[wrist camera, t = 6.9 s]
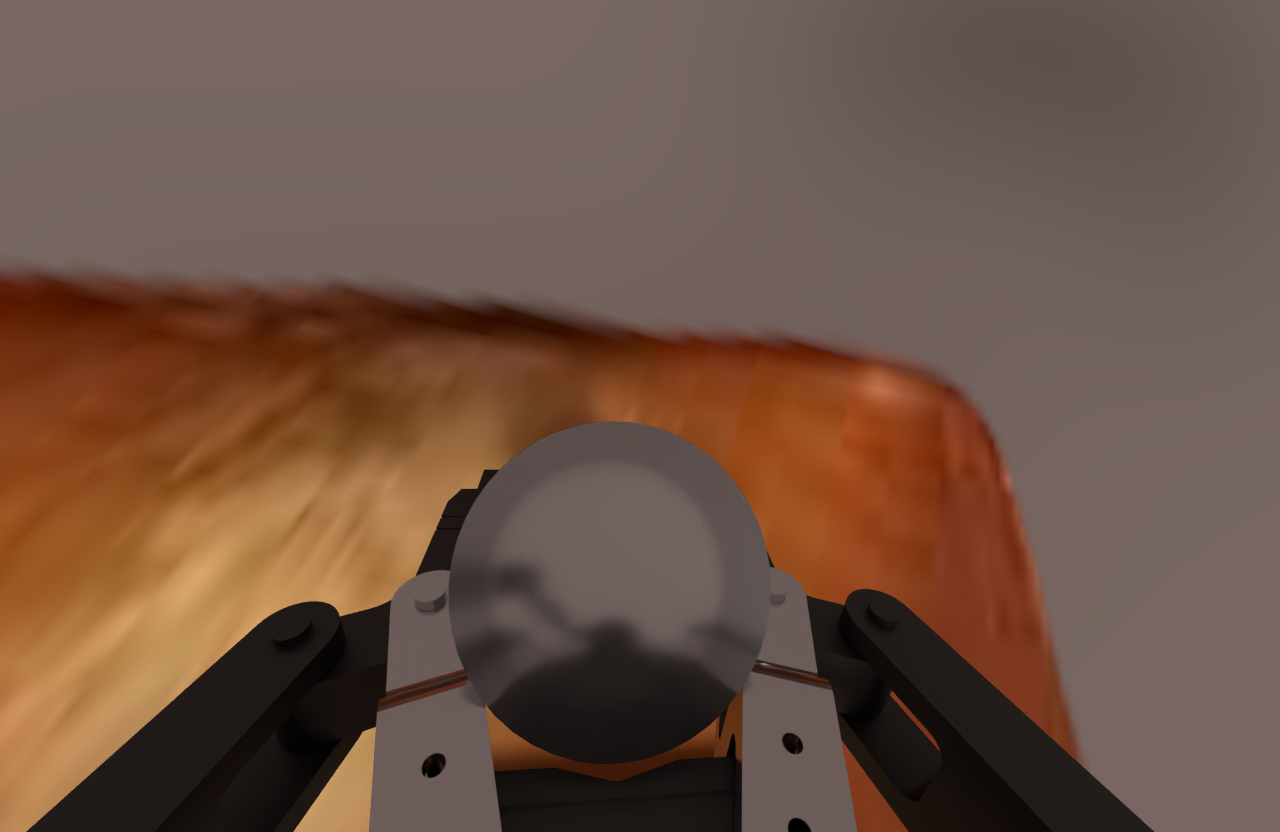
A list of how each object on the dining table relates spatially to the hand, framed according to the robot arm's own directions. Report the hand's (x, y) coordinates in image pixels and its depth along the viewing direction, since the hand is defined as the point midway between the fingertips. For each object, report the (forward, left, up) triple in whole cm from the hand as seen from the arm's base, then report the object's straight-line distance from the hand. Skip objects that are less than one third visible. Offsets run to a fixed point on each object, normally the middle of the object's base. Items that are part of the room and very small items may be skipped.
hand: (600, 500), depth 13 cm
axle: (+1, -1, -5) cm, 6 cm away
